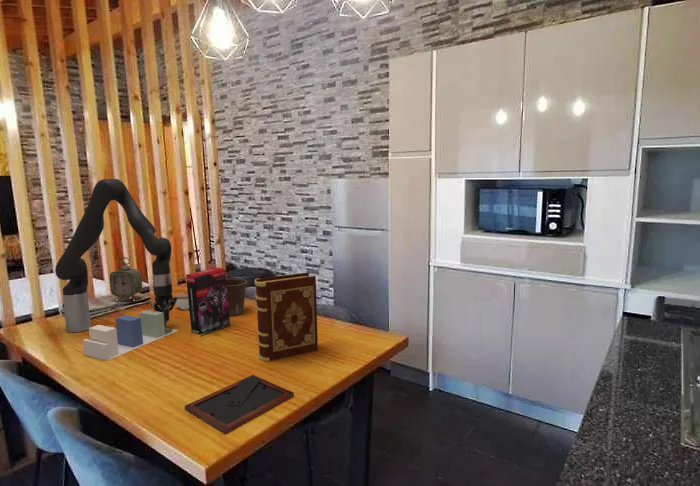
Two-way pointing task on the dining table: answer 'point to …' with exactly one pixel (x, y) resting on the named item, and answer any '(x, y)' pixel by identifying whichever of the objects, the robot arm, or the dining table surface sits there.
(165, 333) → the bookend
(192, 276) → the graphics card box
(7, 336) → the dining table surface
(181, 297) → the lidded jar
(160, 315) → the sage book
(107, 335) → the ivory book
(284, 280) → the decorative book
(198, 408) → the picture frame
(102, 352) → the shelf board
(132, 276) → the tabletop clock
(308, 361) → the dining table surface
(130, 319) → the navy book
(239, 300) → the plant pot
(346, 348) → the dining table surface
